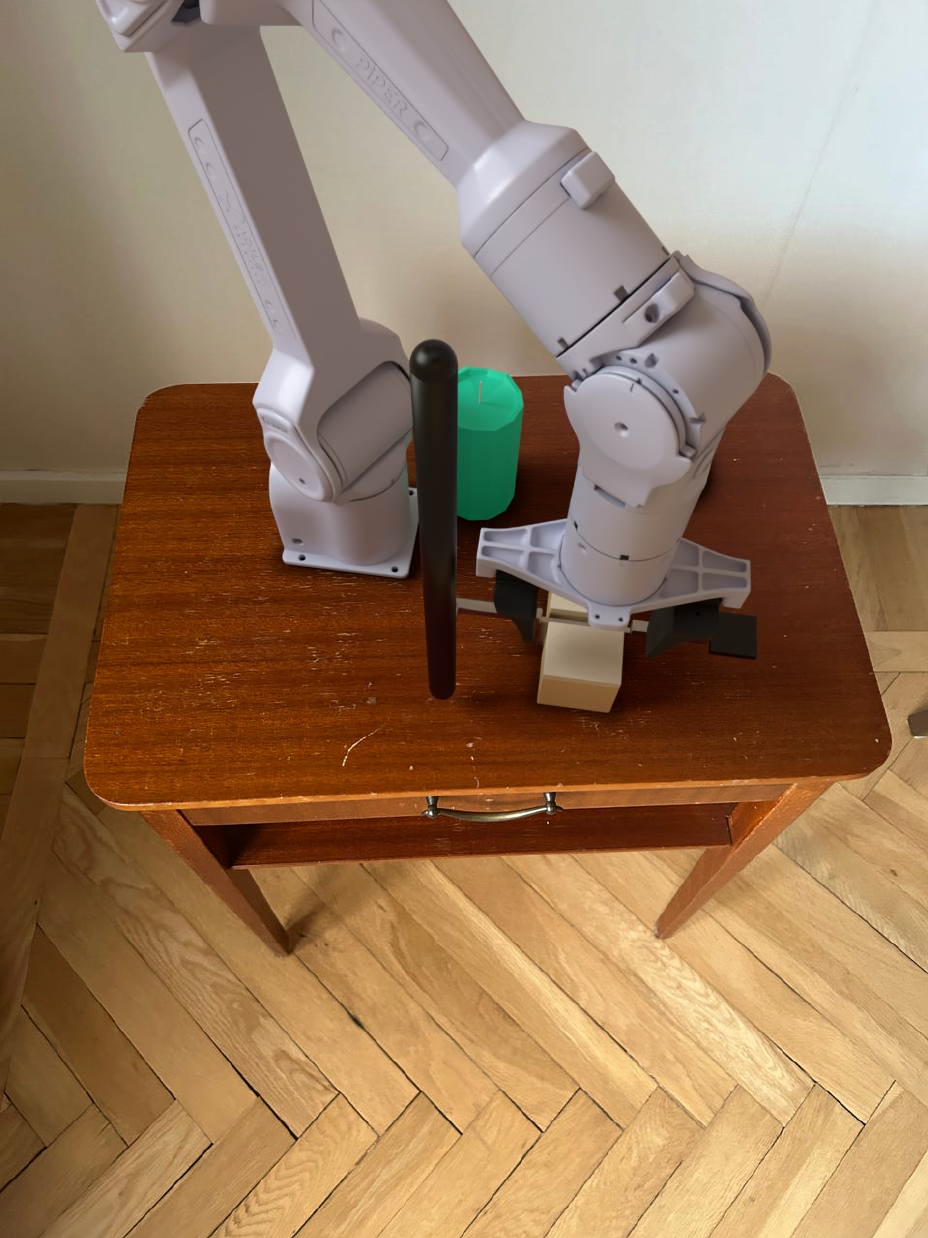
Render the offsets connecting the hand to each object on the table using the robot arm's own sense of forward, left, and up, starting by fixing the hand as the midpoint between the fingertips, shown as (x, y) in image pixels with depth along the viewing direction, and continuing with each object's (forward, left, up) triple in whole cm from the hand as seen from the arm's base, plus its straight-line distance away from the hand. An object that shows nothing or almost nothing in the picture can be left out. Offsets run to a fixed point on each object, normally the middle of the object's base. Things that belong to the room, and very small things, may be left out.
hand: (590, 636), depth 55 cm
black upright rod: (+1, 0, -7) cm, 7 cm away
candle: (-9, +16, -8) cm, 19 cm away
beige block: (0, 0, -7) cm, 7 cm away
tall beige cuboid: (0, +7, -7) cm, 10 cm away
